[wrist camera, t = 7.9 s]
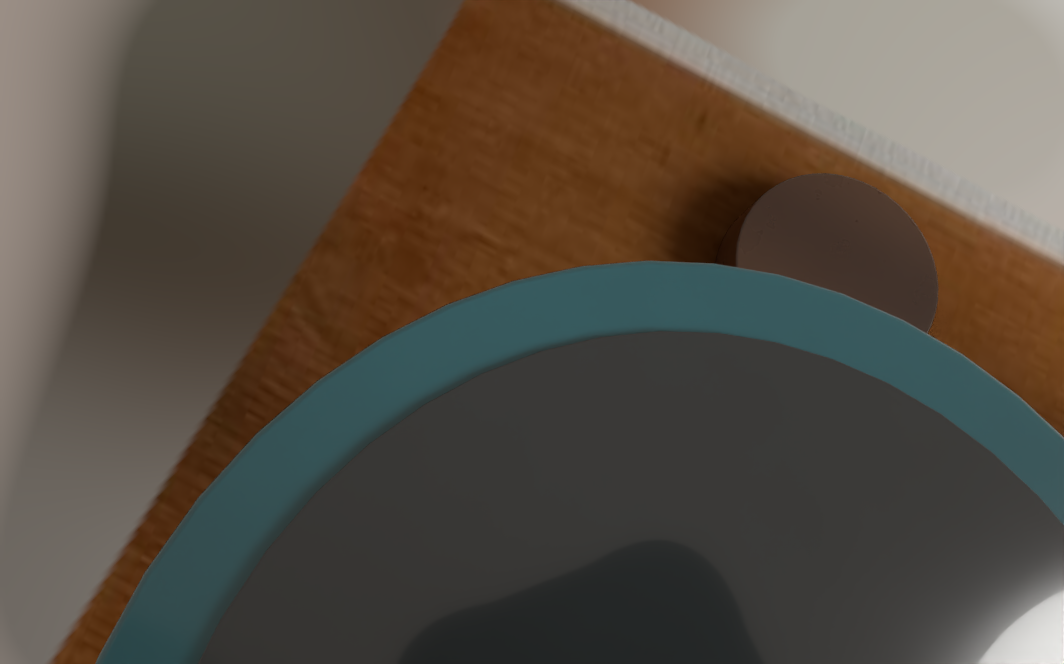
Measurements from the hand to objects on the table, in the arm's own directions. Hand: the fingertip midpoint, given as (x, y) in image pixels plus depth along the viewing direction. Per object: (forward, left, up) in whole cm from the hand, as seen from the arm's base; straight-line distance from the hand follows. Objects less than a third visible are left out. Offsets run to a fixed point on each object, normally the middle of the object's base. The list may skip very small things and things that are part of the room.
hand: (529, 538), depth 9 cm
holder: (+13, -7, -13) cm, 19 cm away
